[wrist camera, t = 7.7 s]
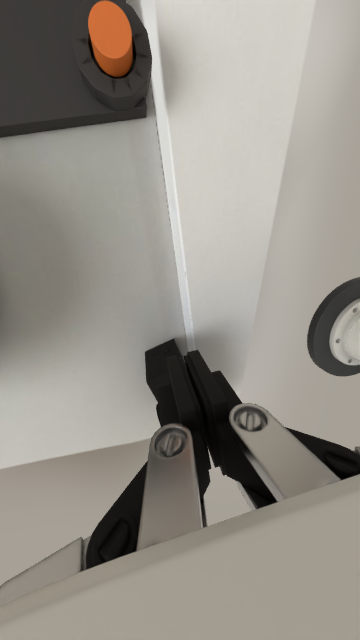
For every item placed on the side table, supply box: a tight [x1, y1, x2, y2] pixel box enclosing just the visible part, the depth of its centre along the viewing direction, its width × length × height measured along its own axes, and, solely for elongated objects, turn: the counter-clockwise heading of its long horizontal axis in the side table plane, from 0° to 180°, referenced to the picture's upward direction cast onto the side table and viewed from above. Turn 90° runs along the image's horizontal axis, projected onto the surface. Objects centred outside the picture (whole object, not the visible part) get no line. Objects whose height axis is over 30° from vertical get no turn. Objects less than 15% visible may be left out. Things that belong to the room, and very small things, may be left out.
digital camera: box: [145, 339, 187, 425], centre depth 26 cm, size 10×5×7 cm, turn 23°
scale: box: [0, 0, 152, 137], centre depth 15 cm, size 17×14×3 cm
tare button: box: [88, 1, 133, 77], centre depth 15 cm, size 3×3×2 cm
